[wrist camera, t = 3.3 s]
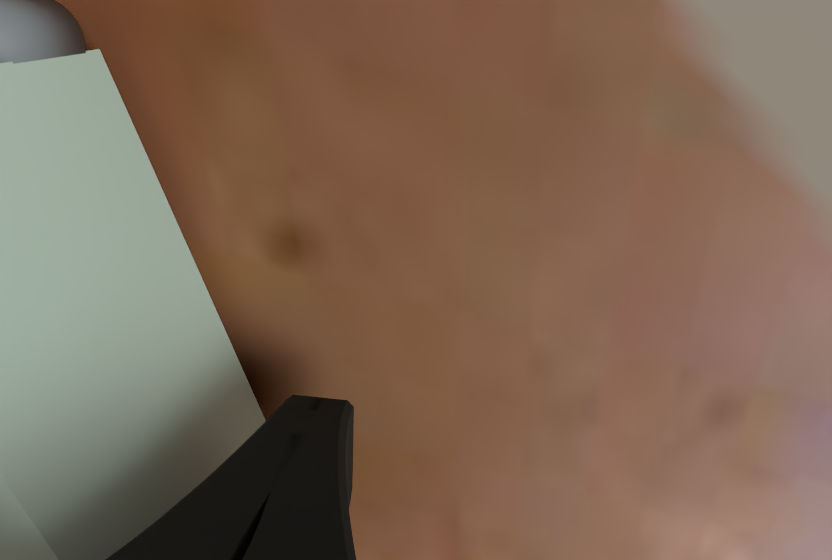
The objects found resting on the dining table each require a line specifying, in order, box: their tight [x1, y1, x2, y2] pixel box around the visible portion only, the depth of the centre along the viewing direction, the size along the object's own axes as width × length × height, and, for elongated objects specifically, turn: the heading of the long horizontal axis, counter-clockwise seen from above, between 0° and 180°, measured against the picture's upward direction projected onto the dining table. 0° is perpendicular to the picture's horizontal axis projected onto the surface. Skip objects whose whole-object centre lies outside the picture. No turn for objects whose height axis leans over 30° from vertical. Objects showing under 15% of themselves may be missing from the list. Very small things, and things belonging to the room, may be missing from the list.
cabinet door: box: [0, 0, 266, 560], centre depth 9 cm, size 1×10×5 cm, turn 15°
